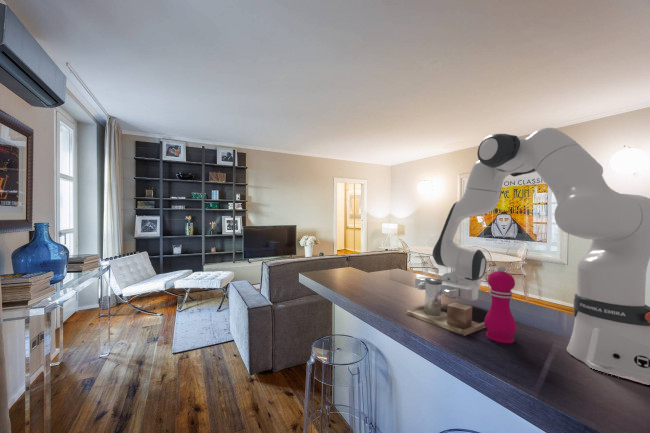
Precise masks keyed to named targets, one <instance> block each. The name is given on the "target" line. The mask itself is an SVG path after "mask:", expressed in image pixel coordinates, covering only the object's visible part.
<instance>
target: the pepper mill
mask: <svg viewBox="0 0 650 433" xmlns="http://www.w3.org/2000/svg"><path fill="white" fill-rule="evenodd" d="M487 283H488V285H489V287H490V289H489V294H490V296H491V305H490V308H489V310H488V311H487V312H486V314H485V317H484V321H483V322H484V326H485V327H486V328H485V329H486V330H487V331H486V332H485V337H486V338H488V339H489V340H492V341H495V342H497V343H502V344H503V343H504V344H513V343H514V342H515V338H514V337H513V335H515V334H516V333H517V329H518V328H517V324H516V319H515V317H514V316H513V313H512V311H511V308H510V306H511V305H510V303H511V302H510V300H511V299H512V298H513V292H512V290H513V289H514V288H515V286H516V282H515V278H514V277H513V276H512V274H510V273H508V272H506V267H505V266H503V265H499V266H498V267H497V271H493V272H492V273H490V274H489V275H488V278H487Z"/></svg>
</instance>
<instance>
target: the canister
mask: <svg viewBox="0 0 650 433" xmlns="http://www.w3.org/2000/svg"><path fill="white" fill-rule="evenodd" d="M436 278H437V277H433V278H425V282H426V290H424V291H425V293H424V294H425V296H424V309H425V313H426V314H427V315H431V316H440V314H441V311H442V308H441V307H442V294H441V287H442V280H441V279H440V278H438V279H436Z"/></svg>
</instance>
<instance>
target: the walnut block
mask: <svg viewBox="0 0 650 433" xmlns="http://www.w3.org/2000/svg"><path fill="white" fill-rule="evenodd" d="M446 313H447V324H448V325H451V326H454V327H457V328H460V329H463V330H464V329H466V328H469V327H472V321H473V306H472V305H467V304H462V303H458V302H455V301H454V302H452V303H450V304H447V310H446Z"/></svg>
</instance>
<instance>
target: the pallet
mask: <svg viewBox="0 0 650 433" xmlns="http://www.w3.org/2000/svg"><path fill="white" fill-rule="evenodd" d="M405 313H406V315H408V316H410V317H413V318H416V319H419V320H421V321H424V322H426V323H429V324H432V325H433V326H437V327H440V328H443V329H446V330H448V331H451V332H453V333H456V334H460V335H461V336H467V335H470V334H473V333H476V332H479V331H480V330H483V329H486V327H485V326H484V321H483V322H480V323H479V322H477V321H473V320H472V327H469V328H466V329H464V330H463V329H460V328H457V327H454V326H451V325H448V324H447V311H446V312H445V311H442V310H441V314H440V316H431V315H427V314H426V313H425V308H424V309H420V310H417V311H412V310H409V309H408V310H406V312H405Z"/></svg>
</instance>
